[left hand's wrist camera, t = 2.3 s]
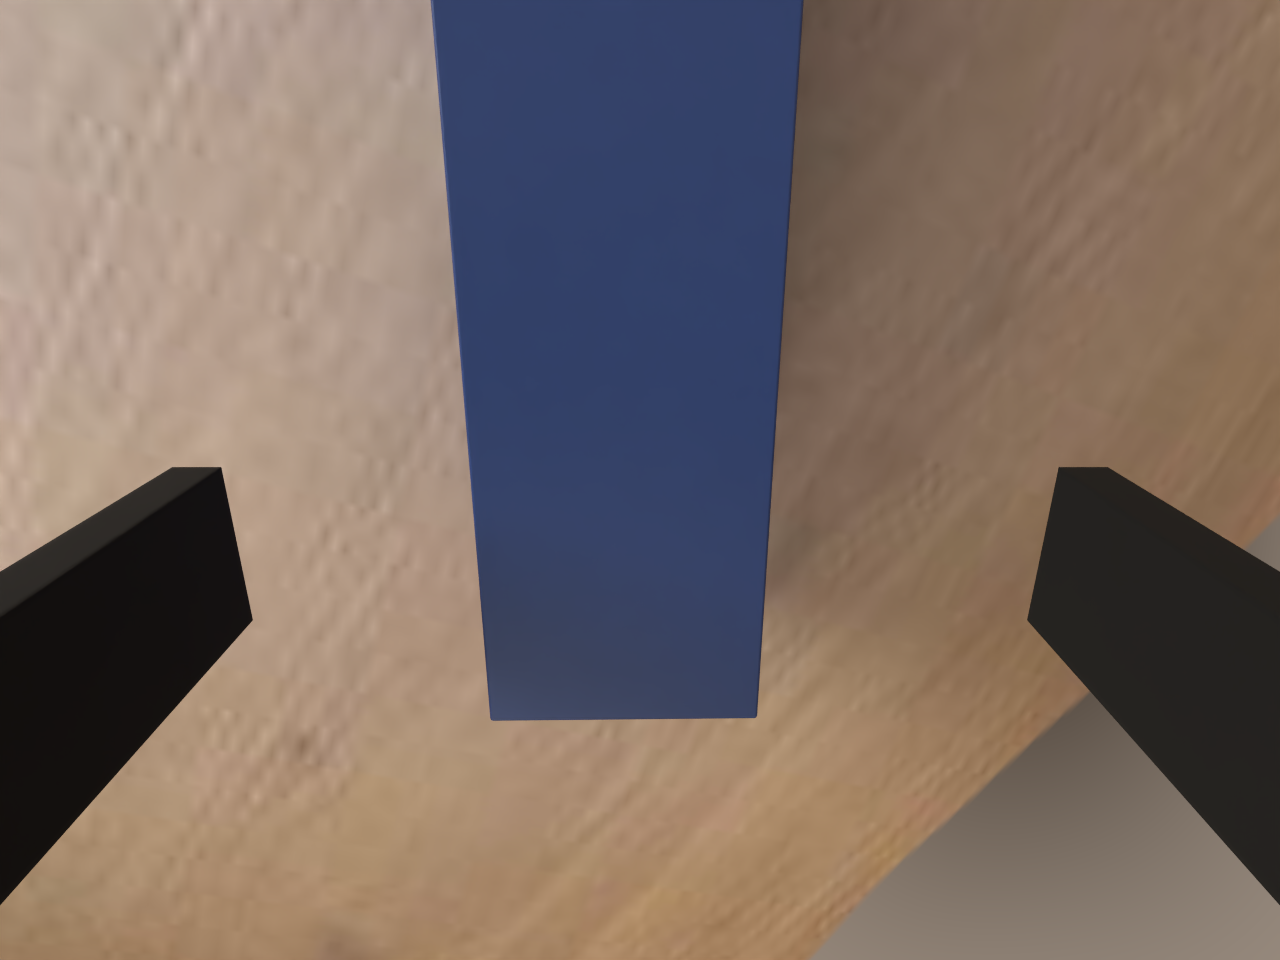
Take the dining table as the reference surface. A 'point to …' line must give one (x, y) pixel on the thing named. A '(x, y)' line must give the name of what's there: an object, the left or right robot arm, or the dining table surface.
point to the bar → (620, 339)
